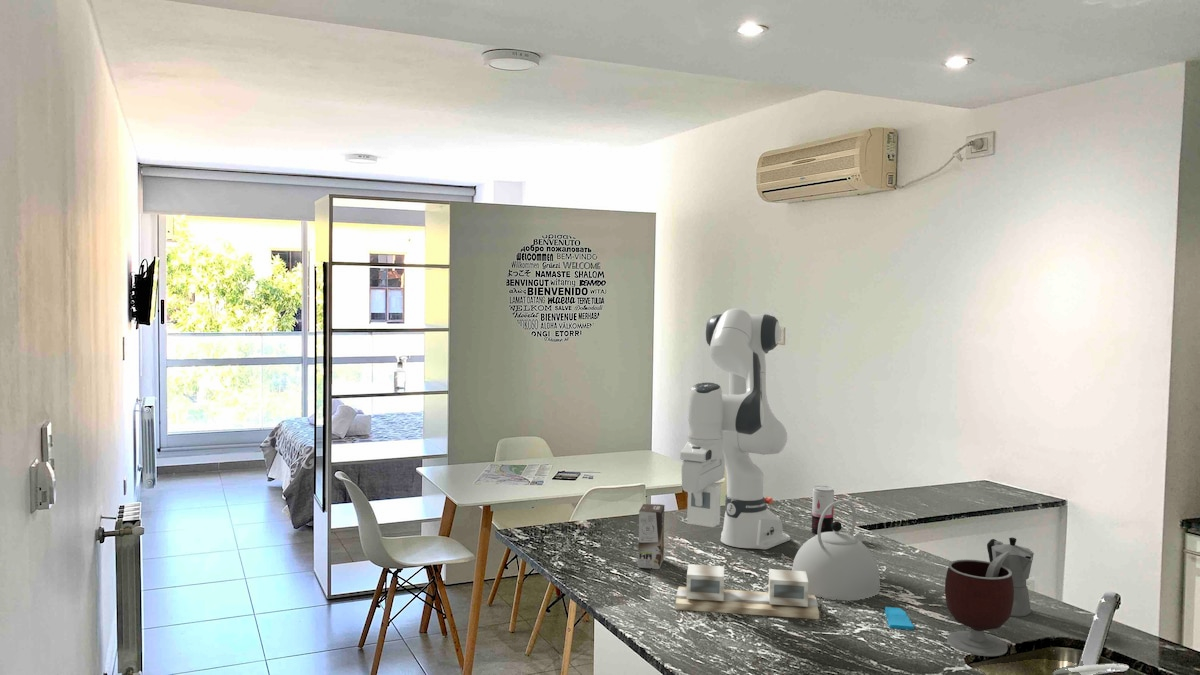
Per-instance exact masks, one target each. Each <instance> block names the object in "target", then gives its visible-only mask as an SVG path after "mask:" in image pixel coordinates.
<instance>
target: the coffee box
mask: <svg viewBox="0 0 1200 675" xmlns="http://www.w3.org/2000/svg"><path fill="white" fill-rule="evenodd" d="M637 549H638V550H637V552H638V555H637V568H639V569H642V568H643V569H651V568H652V569H653V570H660V569H661V567H662V564H663V562H664V561H665V560H664V559H665V504H656V503H655V504H654V503H653V504H652V503H651V504H650V503H649V504H647V503H643V504H642V506H641V507H640V509H639V510H638V547H637Z"/></svg>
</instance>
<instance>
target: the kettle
mask: <svg viewBox="0 0 1200 675" xmlns="http://www.w3.org/2000/svg"><path fill="white" fill-rule="evenodd" d="M841 504H845V505H846V504H847V505H848V506H849V507H850V508H851V512H852V524H851V529H850V533H846V532H841V530H842V528H843V526H842V524H841V522H840V521H838V520H835V521H833V523H832V529H833V532H823V533H821V526H822V522H823V519H824V516H825V515H826V513H827V511H828V510H829V509H830V508H831V507H833V506H836V505H841ZM856 522H857V514H856V509H855V506H854V505H853V503H852V502H851V501H849V500H846V499H844V500H843V499H842V500H836V501H834V502H833V503H831V504H830V505H829V506H827V507H826V509H825V510H824V511H823V513H822V515H821V517H820V520H819V524H818V535H814V536H812V537H811V538H809V539H807V540H806V541H805V542H804V543H803V544H802V545H801V546H800V547H799V548H798V551H797V552H796V555H795V556H794V559H793V561H792V567H791V568H792V569H791V570H792V571H806V574H807V579H808V595H815V597H818V598H821V597H822V598H821V599H826V598H827V599H828V600H836V599H837V600H836V601H861V600H860V599H862V600H866V599H865V598H868V599H870V598H869V597H871V598H873V597H872V596H874V597H875V595H876V596H877V595H878V594H879V593H880V592H881V587H880V586H881V585H880V584H881V582H880V580H881V579H880V578H881V577H880V570H879V566H878V563H877V561H876V559H875V557H874V555H873V554H872V552H871V551H870V549H869V548H868V547H867V546H866V545H865V544H864V543H863V542H864V538H865V535H863V534H861V533H856V534H855V535H854V532H855V528H856ZM879 591H880V592H879ZM827 599H826V600H827Z"/></svg>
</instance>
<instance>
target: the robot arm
mask: <svg viewBox="0 0 1200 675" xmlns="http://www.w3.org/2000/svg"><path fill="white" fill-rule="evenodd" d="M705 325H706V326H705V328H704V334H705V340H706V344H707V345H708V346H709V354H710V357H711V359H712V361H713V362H714V364H715V365H716V366H717V367H719V368H720V369H721V370H723V371H725V372H728V393H722V392H723V391H722V386H721V385H720V384H718V383H714V382H701V383H696V384H693V386H692V387H691V389H690V393H689V399H688V407H687V408H688V409H687V422H688V432H687V439H686V440H687V442H686V443H685V445H684V447H683V448H682V449H681V451H680V452H679V453H680V454H679V456H680V457H679V458H680V460H683V461H682V463H681V488H682V490H683V492H686V493H688V492H691V493H693V494H694V497H695V505H696V506H702V505H704V498H703V496H702V493H703V489H704V488H706V487H707V486H709V485H711V484H713V483H718V482H719V481H721V480H723V479H724V478H725V473H726V495H725V500H724V502H725V503H724V507H725V513H724V519H723V527H722V531H721V532H720V533H721V534H720V536H721V537H720V542H721V543H722V544H724V545H727V546H730V547H734V548H740V549H741V548H742V549H758V550H768V549H771V548H773V547H775V546H778V545H781V544H783V543H786V542H789V541H790V540H791V536H790V535H789V534H787V533H785V532H784V531H783V523H782V520H781V518H779V517H778V516H777V515H776V514H774V513H773V512H772V511H771V510H770V509H769V508H768V505H772V504H773V503H774V499H773V497H769V496H766V497H764V478H765V477H764V476H765V475H764V473H763V470H762V469H761V467H760V466H758V465H757V464H756V463H754V462H753V460H752V459H751V457H750V454H756V455H762V456H764V455H776V454H780V453H781V452H782V451H783V450H784V448H785V447H786V444H787V441H788V432H787V429H786V427H785V425H784V424H783V423H782V422H781V421H780V420H778V418H777V417H776V416H775V414H774V412H773V411H772V409H771V407H770V405H769V402H768V396H767V386H766V385H767V384H766V380H767V379H766V375H767V374H766V373H767V372H766V371H767V370H766V369H767V365H766V364H767V363H766V354H769V351H773V350H774V349H775V348H776V347H777V346H778V344H779V342H780V339H781V334H782V333H781V332H782V331H781V326H780V323H779V320H778V319H777V317H775V315H771V314H770V315H769V314H757V313H748V312H747V311H746V310H744V309H741V308H735V307H733V308H729V309H727V310H726V311H724V312H723V313H722V314H716V315H712V316H711V317H710V318H708V320H707V322H706V324H705ZM749 453H750V454H749ZM725 471H726V472H725ZM767 504H768V505H767Z"/></svg>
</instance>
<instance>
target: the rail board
mask: <svg viewBox="0 0 1200 675" xmlns="http://www.w3.org/2000/svg"><path fill="white" fill-rule="evenodd" d="M818 606H819V603H818V601H817V598H816V596H815V595H810V594H808V579H807V574H806V571H792V569H791V570H790V569H789V570H788V569H773V568H768V591H756V590H752V591H751V590H741V589H739V590H737V589H725V565H723V566H722V565H708V564H707V565H705V564H704V565H703V564H694V563H693V564H689V563H688V565H687V572H686V586H678V588H677V591H676V599H675V606H674V608H675V610H680V611H681V610H682V611H696V612H708V613H709V612H711V613H726V614H738V615H739V614H740V615H752V616H769V617H781V618H782V617H783V618H794V619H795V618H798V619H810V620H820V611H819V608H818Z"/></svg>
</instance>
